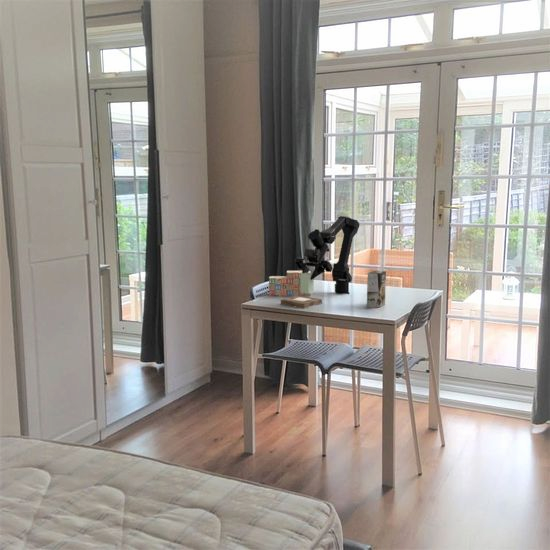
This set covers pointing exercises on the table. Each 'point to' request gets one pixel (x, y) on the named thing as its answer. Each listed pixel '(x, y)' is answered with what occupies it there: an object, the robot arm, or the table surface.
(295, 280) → the stack of blocks
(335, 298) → the table surface
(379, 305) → the coffee box
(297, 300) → the base board
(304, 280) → the pillar block
